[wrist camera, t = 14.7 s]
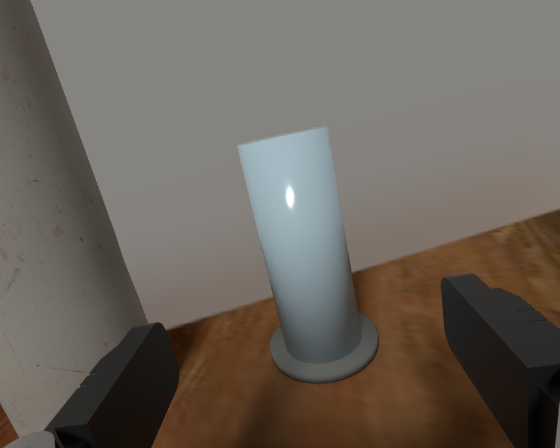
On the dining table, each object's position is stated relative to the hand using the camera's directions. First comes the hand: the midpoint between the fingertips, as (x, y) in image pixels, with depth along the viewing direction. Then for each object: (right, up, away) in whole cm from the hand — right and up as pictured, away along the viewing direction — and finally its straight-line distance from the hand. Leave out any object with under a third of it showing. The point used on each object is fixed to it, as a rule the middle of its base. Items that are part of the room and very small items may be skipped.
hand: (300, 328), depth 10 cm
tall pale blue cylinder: (+2, -4, +13) cm, 14 cm away
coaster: (+2, -5, +13) cm, 14 cm away
